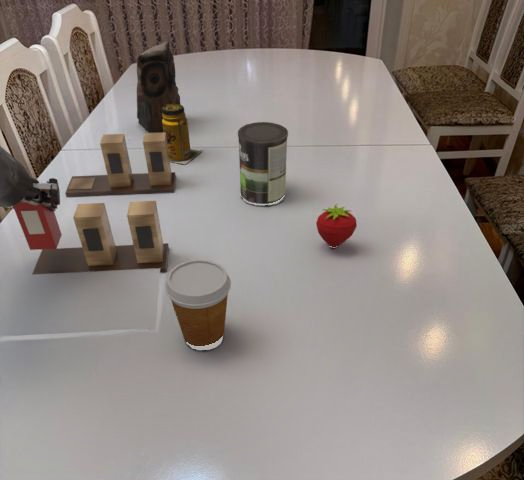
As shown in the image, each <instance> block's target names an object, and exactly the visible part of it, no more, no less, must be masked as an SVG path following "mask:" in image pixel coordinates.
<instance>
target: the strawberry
mask: <svg viewBox="0 0 524 480" xmlns="http://www.w3.org/2000/svg"><path fill="white" fill-rule="evenodd" d="M338 204H339V203H336V204H334V207H333V208H332V207H327V208H322V211H323V212H322V213H321V214H320V215H318V216H317V220H316V222H315V225H316V230H317V233H318V234H319V236H320V237H321V238H322V240H323V241H324V243H326V244H327V245H328V247H329V246H332V247H336V246H338V247H339V246H341V245H342V244H344V243H345V242H346V241H348V240H349V239H350V238H351V237H352V236H353V234H354V232H355V231H356V229H357V225H358V224H357V219H356V217H355V216H354V215H353V214H352V213H351V212H352V211H353V210H352V209H351V210H350V209H345V206H342V207H338V206H337V205H338Z"/></svg>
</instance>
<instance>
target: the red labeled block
mask: <svg viewBox="0 0 524 480" xmlns="http://www.w3.org/2000/svg"><path fill="white" fill-rule="evenodd" d="M13 207H14V209H13V210H14V213H15V216H16V217H17V220H18V222H19V226H20V228H21V230H22V233H23V236H24V238H25V240H26V243H27V245H28V248H29V250H30V251H35V250H36V251H37V250H38V251H39V250H42V249H58V246H59V243H60V241H61V238H62V235H63V234H62V232H61V228H60V225H59V222H58V219H57V215H56V212H55V211H50V210H48V209H47V208H46V207H44V206H43V205H32V204H29V203H26V202H23V203H22V202H19V203H18V204H16V205H14V206H13Z"/></svg>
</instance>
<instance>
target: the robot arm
mask: <svg viewBox="0 0 524 480" xmlns="http://www.w3.org/2000/svg"><path fill="white" fill-rule="evenodd" d="M60 192H61V191H60V186H59V181H58V179H57V178H55V177H52V178H49V179H48V180H46V182H40V181H39V180H38V179H37V178H34V177H31V176H30V174H29V172H28V170H27V169H26V168H25V166H24V165H23V164H22V163H21V162H20V161H19V160H18V159H16V158H15V157H14V156H13V155H11V153H9V152H8V151H7V150H6V149H5V148H4V147H2V146H1V145H0V208H7V209H12V210H14V207H13V206H14V205H16V204H18V203H19V202H22V203H23V202H26V203H29V204H32V205H43V206H44V207H46V208H47V209H48V210H50V211H54V212H56V211H57V209H58V206H60V205H61V195H60V194H61V193H60Z"/></svg>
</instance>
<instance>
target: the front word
mask: <svg viewBox="0 0 524 480" xmlns="http://www.w3.org/2000/svg"><path fill="white" fill-rule="evenodd" d="M72 219H73V222H74V225H75V228H76V231H77V235H78V238H79V242H80V244H81V247H80V246H79V247H61V248H58V247H57V249H41V252H40V253H39V256H38V258H37V261H36V264H35V265H34V269H33V271H32V273H31V275H51V274H68V273H70V274H71V273H73V274H74V273H90V272H109V271H110V272H111V271H113V272H114V271H128V270H129V271H132V270H153V269H159V273H167V272H168V263H169V262H168V261H169V253H170V251H169V250H170V246H169V243H166V242H165V243H164V241H163V234H162V228H161V222H160V217H159V211H158V205H157V200H143V201H129V204H128V209H127V213H126V219H127V221H128V226H129V231H130V236H131V240H132V244H125V245H124V244H123V245H116V243H115V239H114V234H113V230H112V227H111V222H110V219H109V215H108V211H107V207H106V203H104V202H93V203H78V204H77V205H76V209H75V211H74V214H73V218H72Z"/></svg>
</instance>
